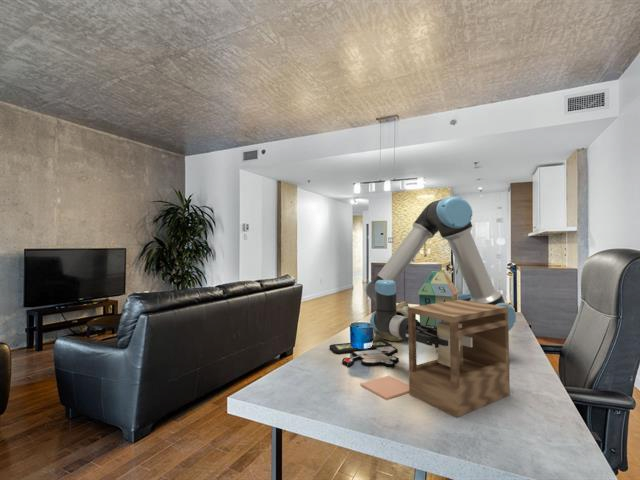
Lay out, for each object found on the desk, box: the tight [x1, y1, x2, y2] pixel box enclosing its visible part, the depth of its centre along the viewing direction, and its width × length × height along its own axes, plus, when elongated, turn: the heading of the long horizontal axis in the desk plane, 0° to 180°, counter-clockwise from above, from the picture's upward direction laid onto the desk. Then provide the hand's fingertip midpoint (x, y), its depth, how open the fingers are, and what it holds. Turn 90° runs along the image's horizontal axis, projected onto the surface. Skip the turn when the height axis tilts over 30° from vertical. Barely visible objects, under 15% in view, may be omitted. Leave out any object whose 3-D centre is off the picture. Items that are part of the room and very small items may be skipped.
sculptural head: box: [373, 300, 410, 342], centre depth 163 cm, size 17×21×25 cm
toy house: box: [417, 269, 460, 327], centre depth 178 cm, size 17×16×30 cm
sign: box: [328, 339, 400, 369], centre depth 137 cm, size 27×2×30 cm
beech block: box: [437, 321, 463, 367], centre depth 103 cm, size 5×5×12 cm
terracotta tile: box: [359, 375, 409, 401], centre depth 106 cm, size 12×12×1 cm
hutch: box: [408, 299, 511, 418], centre depth 101 cm, size 24×16×26 cm, turn 121°
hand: (465, 344), depth 99 cm, fingers closed on beech block, 5 cm apart
